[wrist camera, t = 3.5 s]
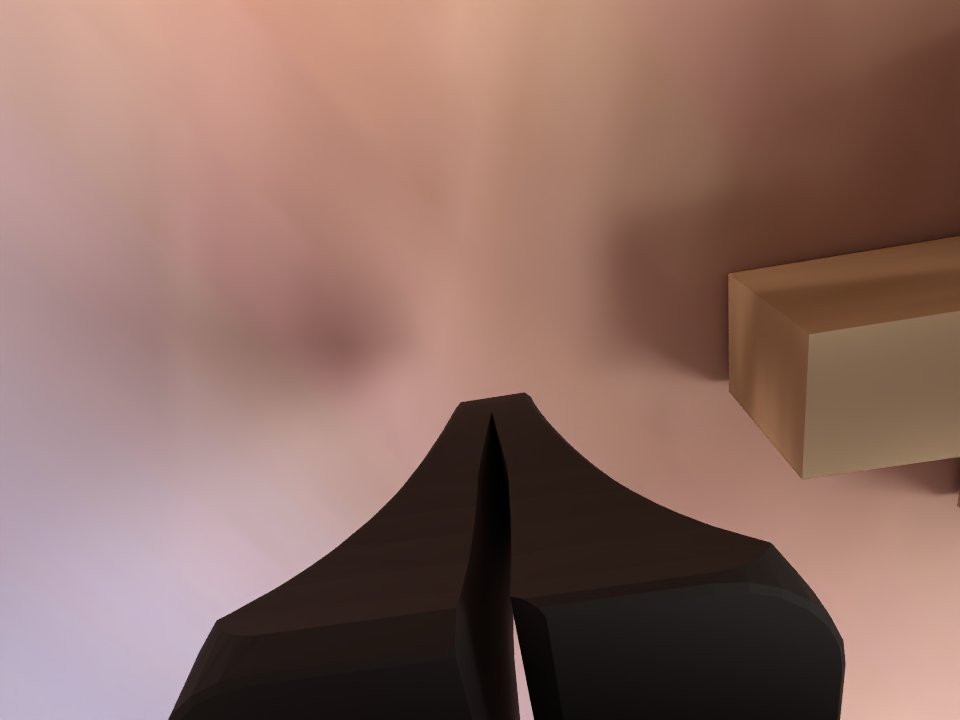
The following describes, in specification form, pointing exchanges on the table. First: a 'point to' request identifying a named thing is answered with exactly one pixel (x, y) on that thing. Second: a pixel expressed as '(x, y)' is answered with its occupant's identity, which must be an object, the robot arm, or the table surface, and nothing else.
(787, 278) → the wooden post with crossbar
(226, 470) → the table surface
